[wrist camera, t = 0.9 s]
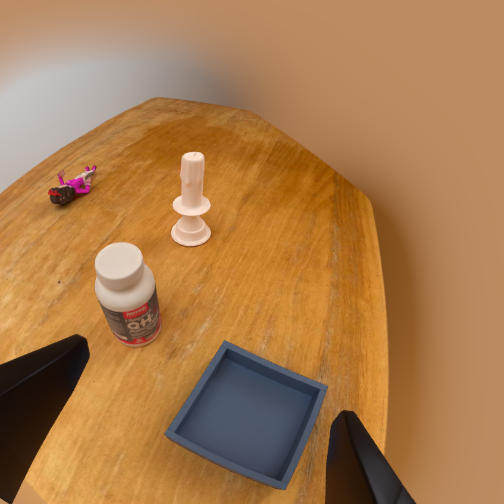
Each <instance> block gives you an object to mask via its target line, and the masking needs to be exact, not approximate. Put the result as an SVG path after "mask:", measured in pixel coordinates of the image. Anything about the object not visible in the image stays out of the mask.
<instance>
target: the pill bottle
mask: <svg viewBox="0 0 504 504" xmlns="http://www.w3.org/2000/svg"><path fill="white" fill-rule="evenodd" d="M95 269H96V273H97V278H96V281H95V292H96V296H97V298H98V301H99V303H100V305H101V308H102V310H103V312H104V314H105V317H106V319H107V321H108V323H109V326H110V328H111V330H112V332H113V334H114V336H115V337H116V338H117V340H118V341H120V342H121V343H123V344H125V345H127V346H131V347H139V346H144V345H147V344H149V343H151V342H152V341H153V340H154V339H155V338H156V337H157V336H158V334H159V332H160V329H161V316H160V310H159V305H158V298H157V292H156V285H155V279H154V276H153V273H152V271H151V270H150V268H149V267H148V266H147V265H146V264H144V260H143V256H142V253H141V251H140V250H139V249H138V248H137V247H136V246H135V245H133V244H130V243H124V242H120V243H114V244H111V245H109V246H107V247H105V248H104V249H102V250H101V251H100V252H99V254H98V255H97V257H96V259H95Z"/></svg>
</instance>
